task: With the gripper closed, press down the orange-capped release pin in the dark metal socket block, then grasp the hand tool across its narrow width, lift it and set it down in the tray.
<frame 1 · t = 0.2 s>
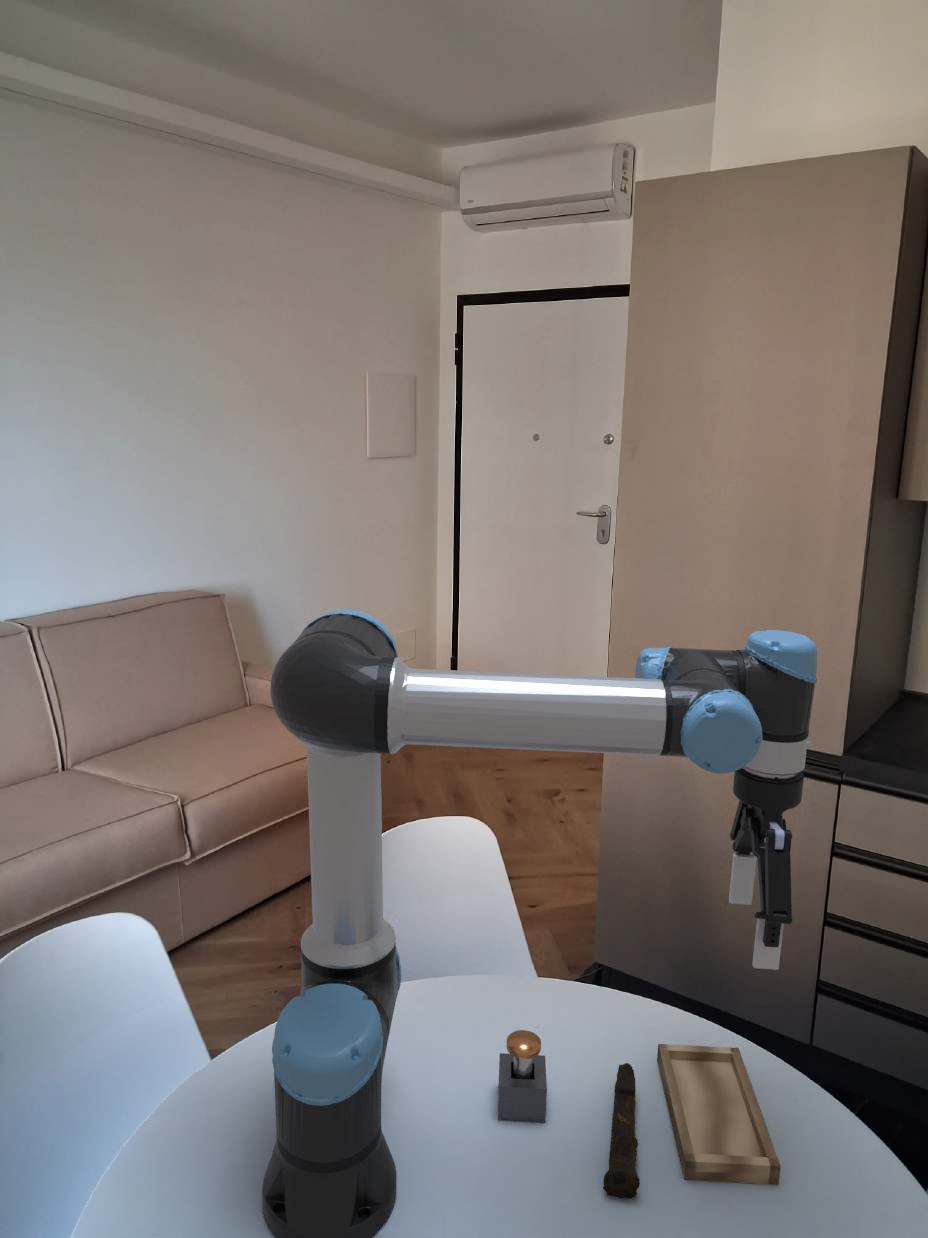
hand: (751, 933, 108), 28 cm above the table, fingers open, 13 cm apart
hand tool: (618, 1139, 112), on the table
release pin: (522, 1064, 116), point 6 cm above the table, slide at 0.0 cm
socket block: (521, 1104, 117), on the table
tray: (712, 1117, 116), on the table
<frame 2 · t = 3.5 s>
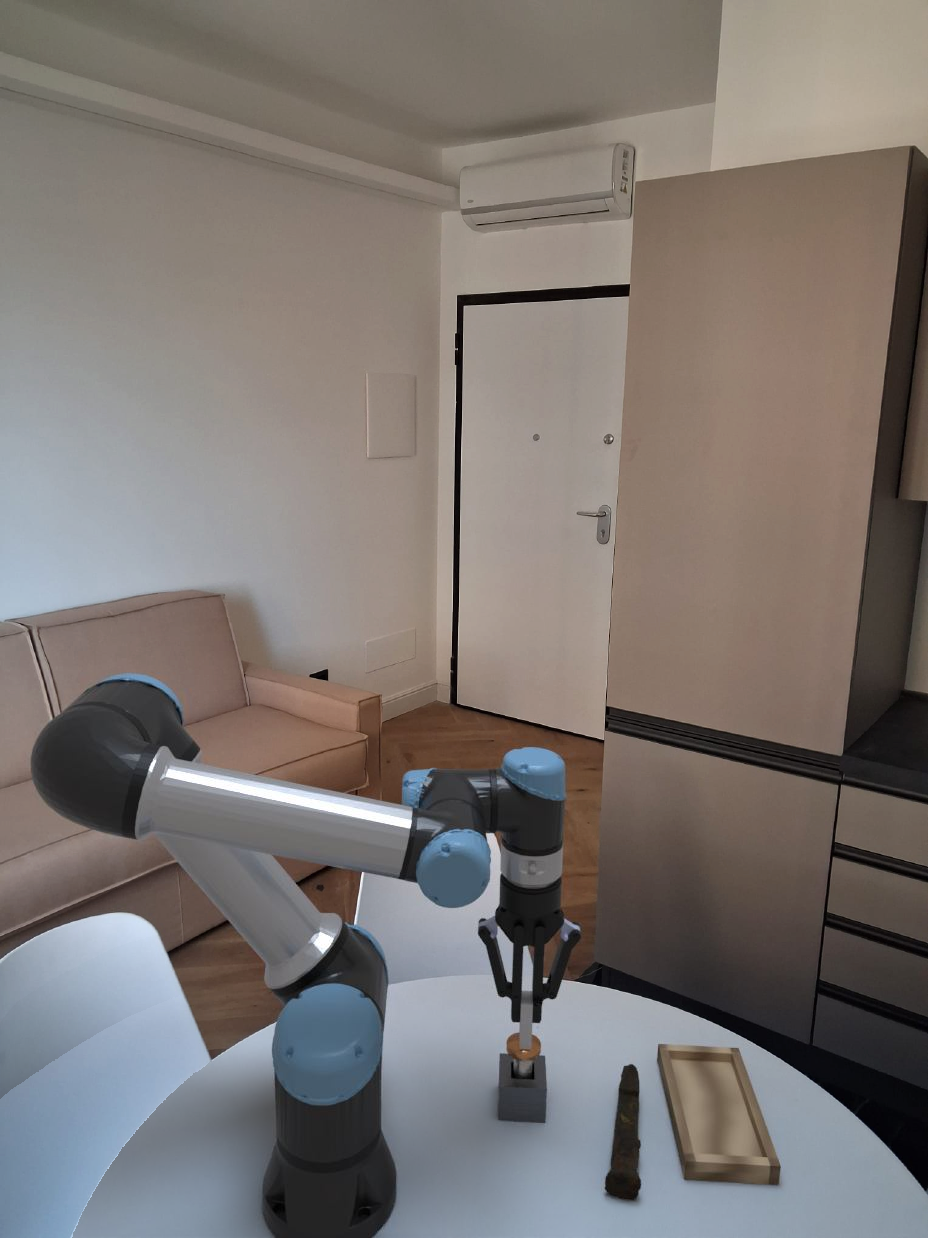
hand: (525, 1042, 115), 9 cm above the table, fingers closed
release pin: (522, 1066, 116), point 6 cm above the table, slide at 0.3 cm, touching gripper
everything else where it was.
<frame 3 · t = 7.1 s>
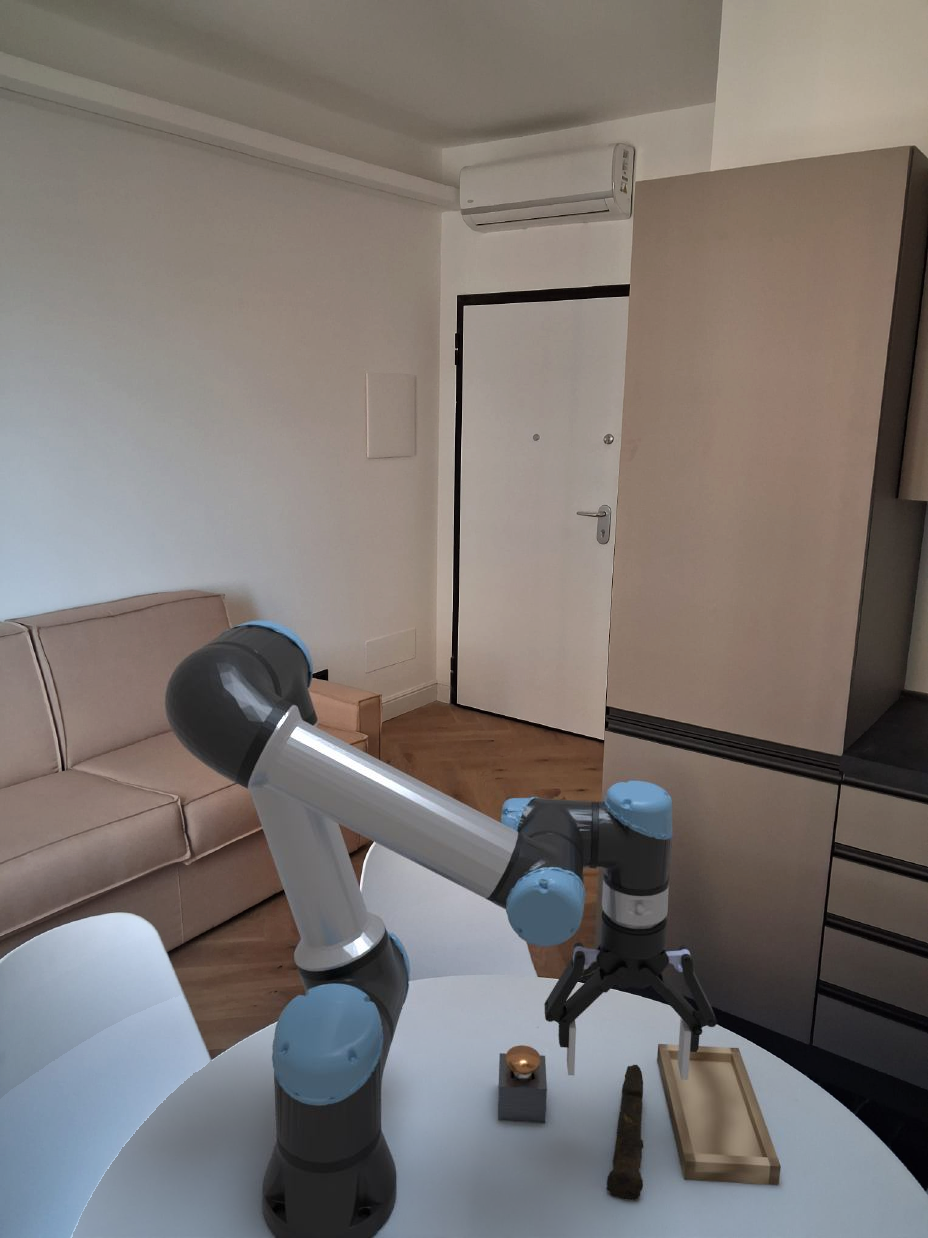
hand: (626, 1070, 110), 10 cm above the table, fingers open, 13 cm apart
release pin: (522, 1080, 116), point 4 cm above the table, slide at 2.3 cm
everything else where it was.
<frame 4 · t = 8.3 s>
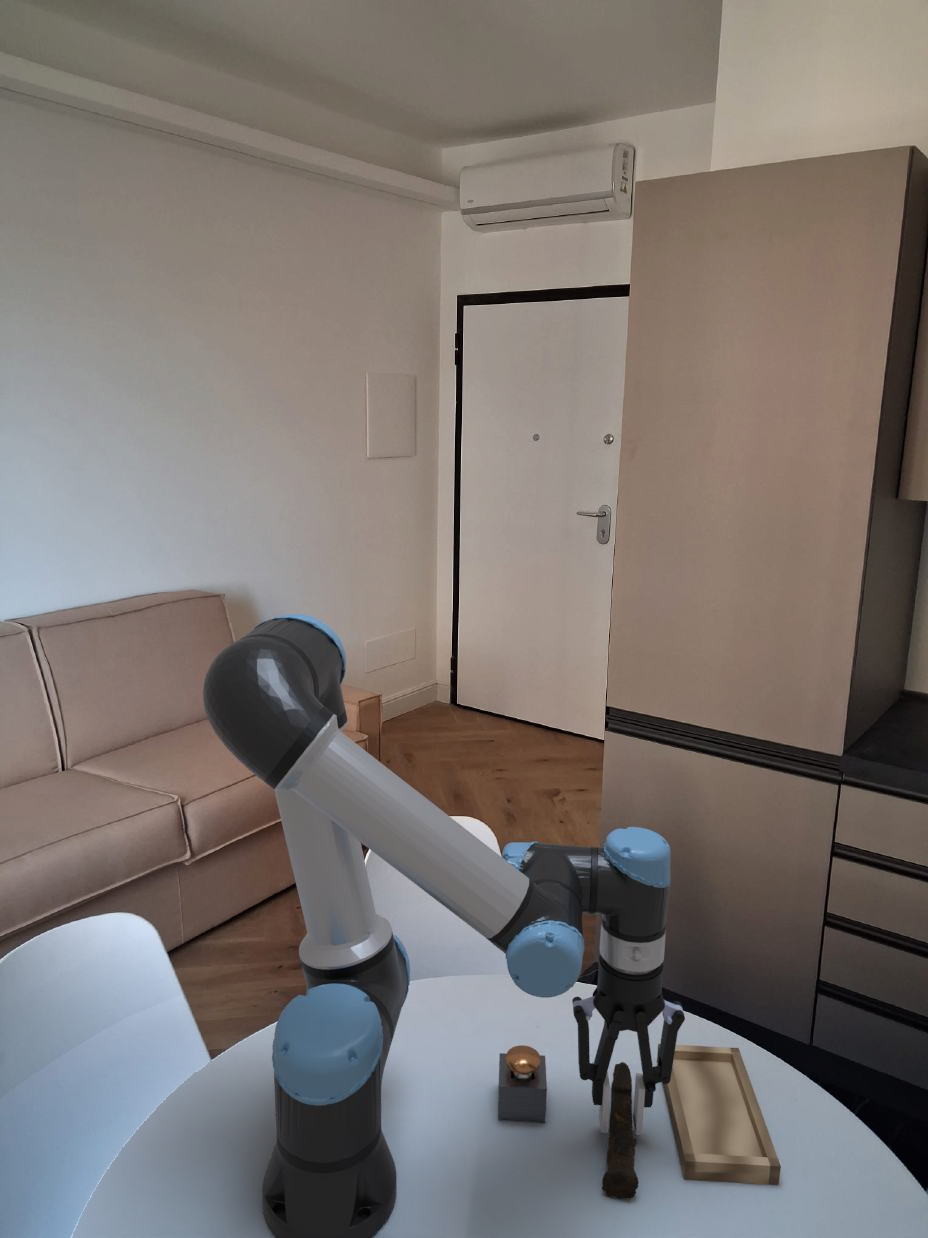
hand: (620, 1125, 112), 2 cm above the table, fingers closed on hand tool, 3 cm apart
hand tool: (615, 1139, 112), on the table, touching gripper
everything else where it was.
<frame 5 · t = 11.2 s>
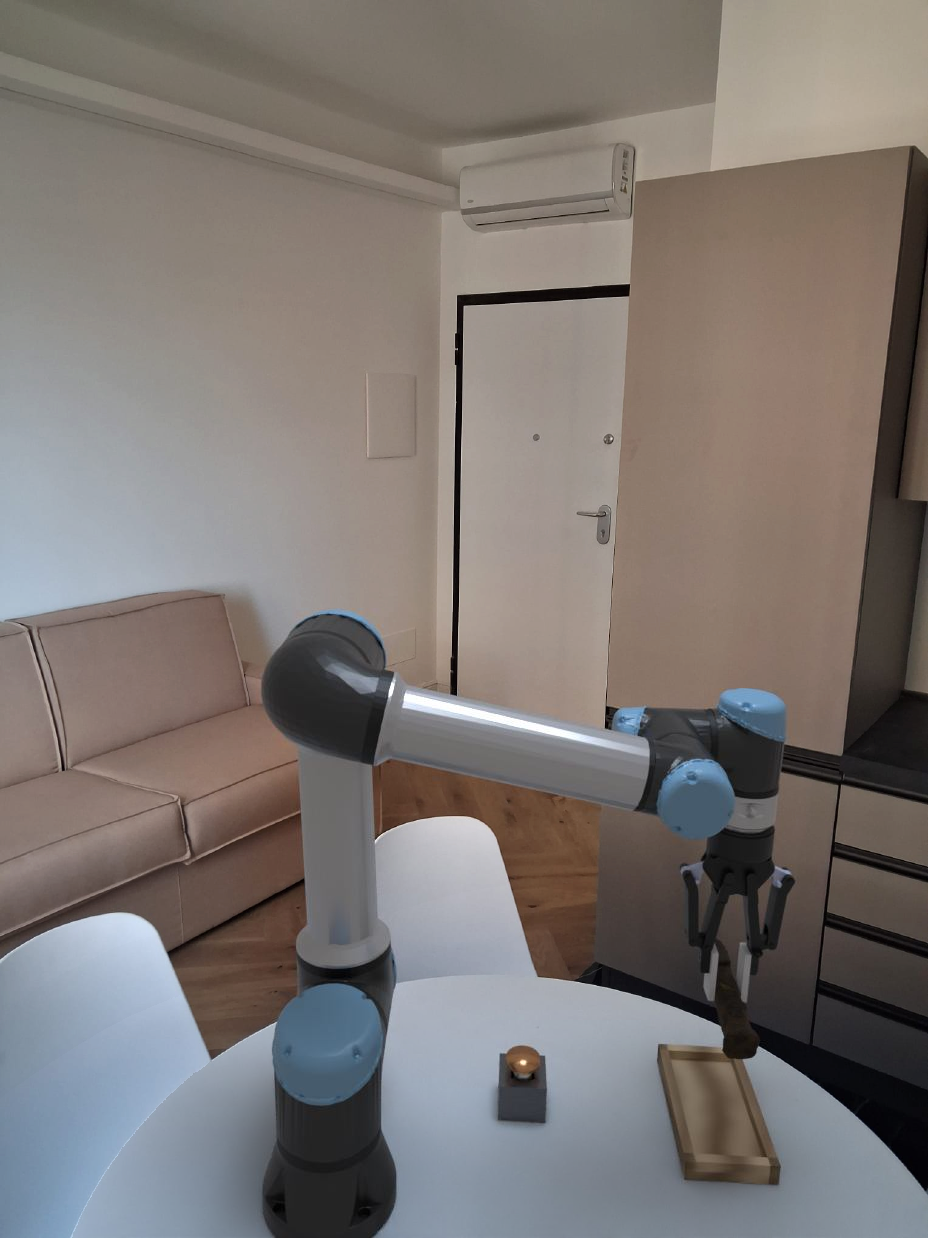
hand: (724, 994, 111), 18 cm above the table, fingers closed on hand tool, 3 cm apart
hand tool: (720, 1009, 112), point 16 cm above the table, touching gripper
everything else where it was.
when the fingers open (4 cm above the table, at t = 13.7 s): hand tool stays where it is, resting on tray.
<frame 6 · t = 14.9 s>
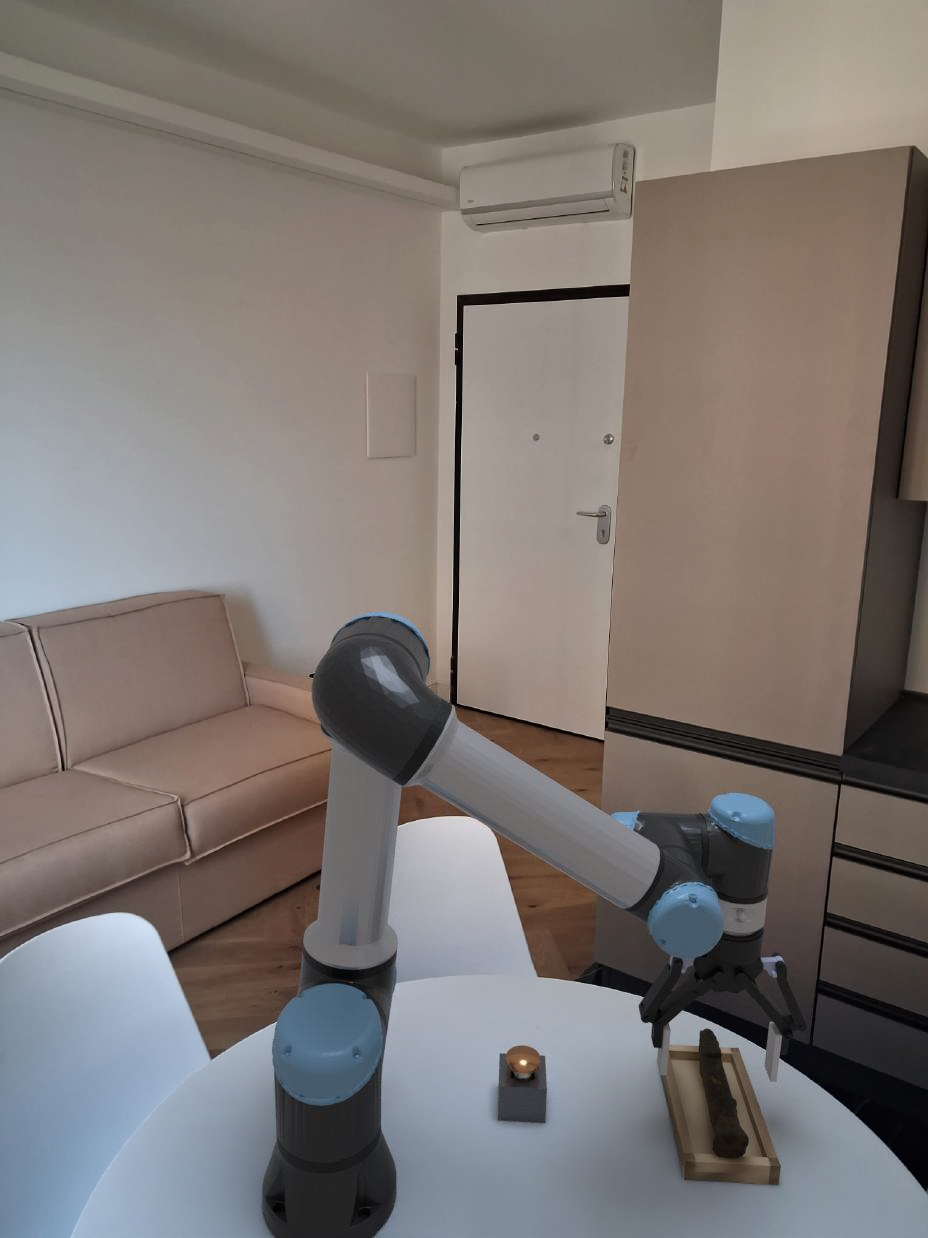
hand: (715, 1071, 114), 7 cm above the table, fingers open, 13 cm apart
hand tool: (710, 1102, 115), point 2 cm above the table, touching tray
everything else where it was.
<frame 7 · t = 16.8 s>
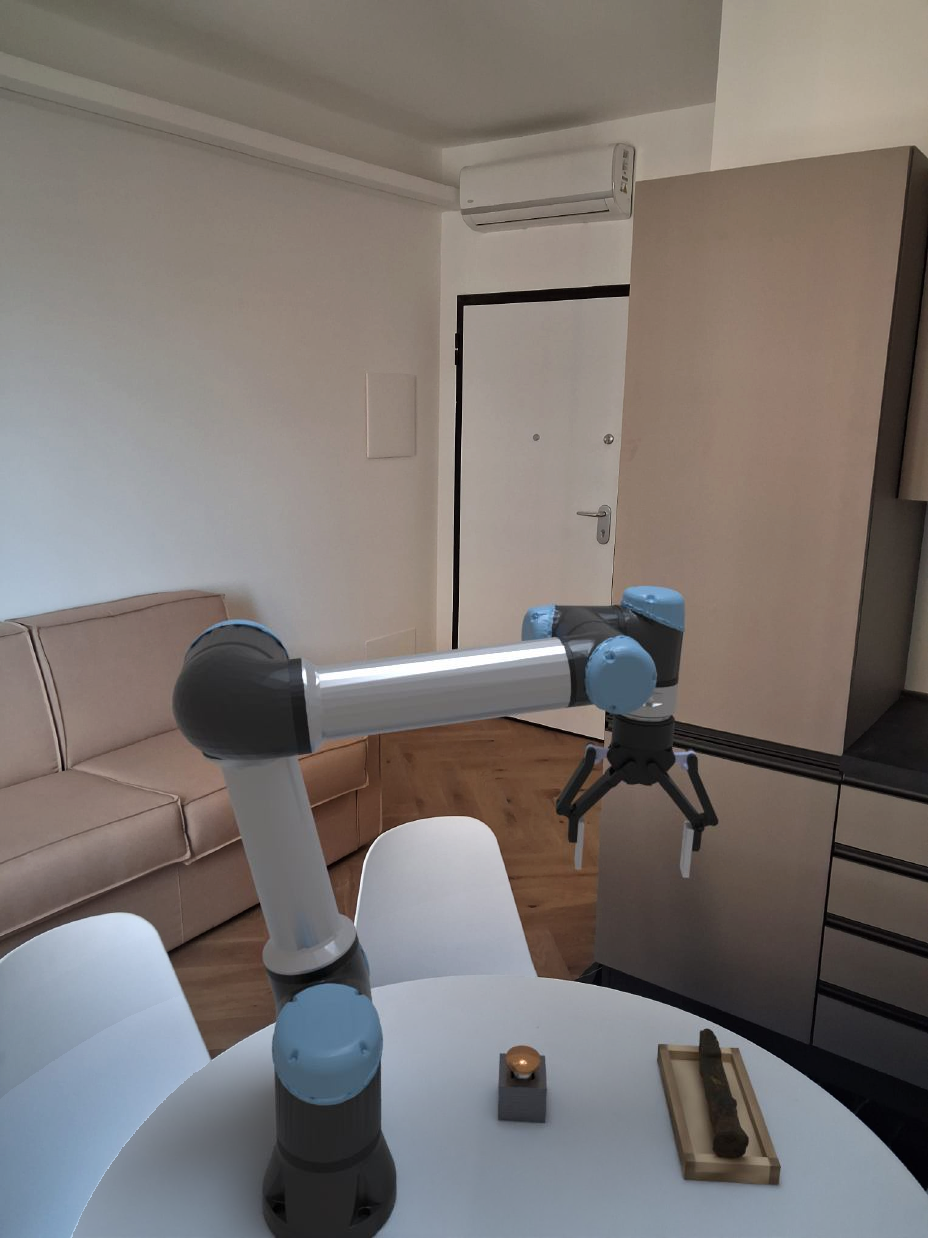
hand: (630, 869, 116), 31 cm above the table, fingers open, 13 cm apart
nothing on the table moved.
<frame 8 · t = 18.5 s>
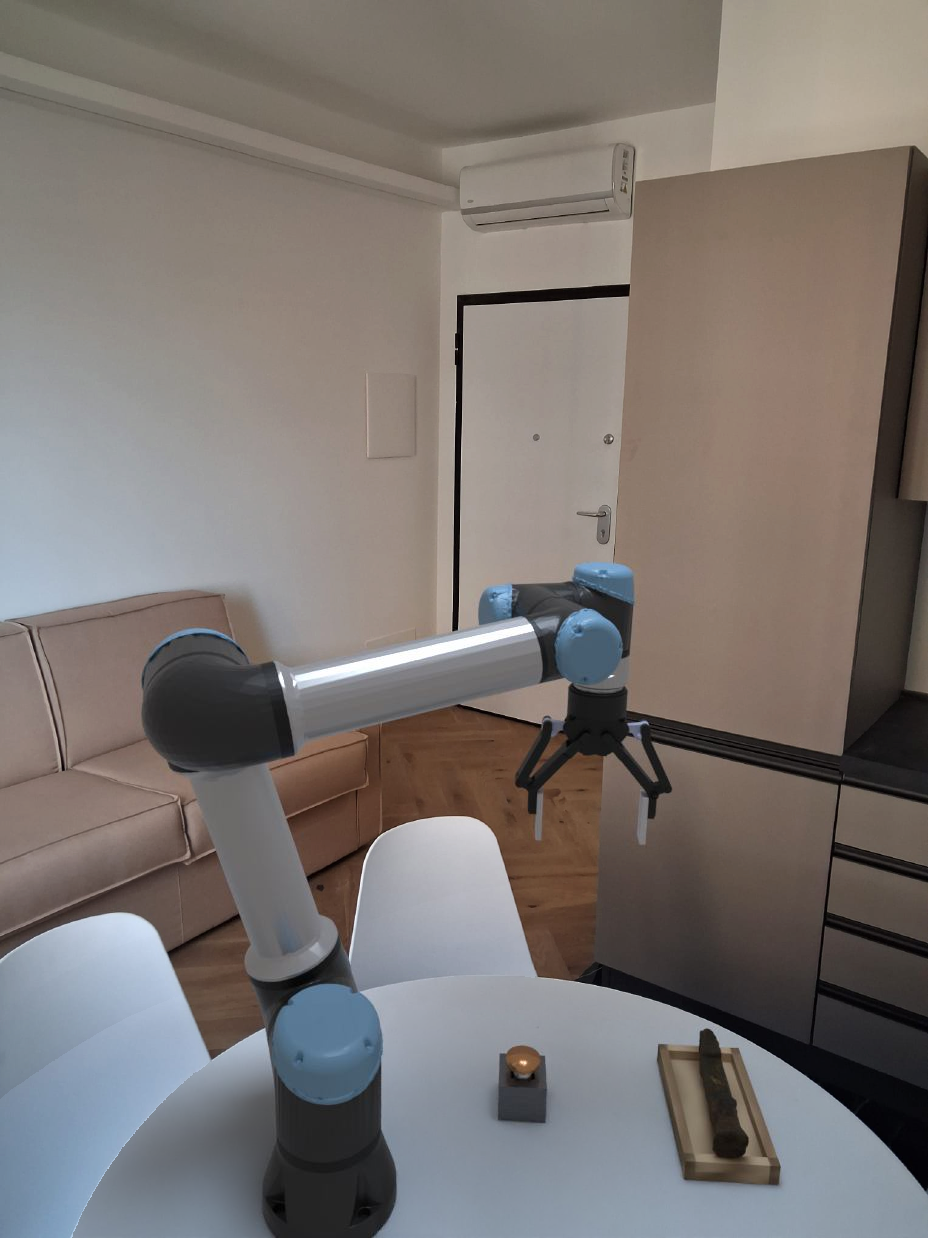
hand: (589, 838, 120), 33 cm above the table, fingers open, 13 cm apart
nothing on the table moved.
at the end: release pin slide at 2.3 cm; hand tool inside the target area on the tray (0.5 cm from its centre), point 2.4 cm above the tray's base; the gripper is holding nothing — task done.
